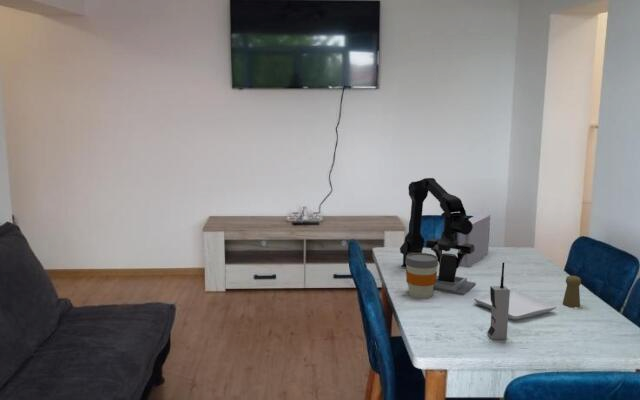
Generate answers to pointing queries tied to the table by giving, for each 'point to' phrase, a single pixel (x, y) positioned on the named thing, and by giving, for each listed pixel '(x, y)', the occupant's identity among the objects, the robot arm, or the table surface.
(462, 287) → the charging dock
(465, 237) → the game console
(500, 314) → the vintage mobile phone
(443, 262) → the battery charger
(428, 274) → the reusable coffee cup
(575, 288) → the cork
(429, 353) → the table surface
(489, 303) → the salad plate
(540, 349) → the table surface
